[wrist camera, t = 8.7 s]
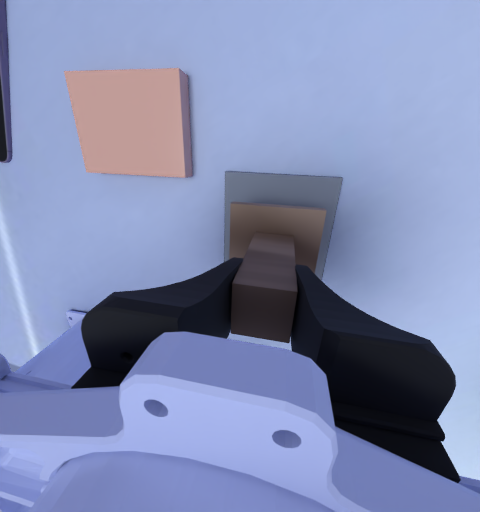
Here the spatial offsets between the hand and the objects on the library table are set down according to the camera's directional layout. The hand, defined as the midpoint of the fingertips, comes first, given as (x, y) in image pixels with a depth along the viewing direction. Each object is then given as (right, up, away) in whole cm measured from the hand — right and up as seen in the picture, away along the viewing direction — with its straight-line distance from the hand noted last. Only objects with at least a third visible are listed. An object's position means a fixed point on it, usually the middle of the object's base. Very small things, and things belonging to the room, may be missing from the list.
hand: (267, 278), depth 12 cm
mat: (+2, +4, +8) cm, 9 cm away
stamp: (+1, +2, +5) cm, 5 cm away
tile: (-10, +8, +8) cm, 15 cm away
